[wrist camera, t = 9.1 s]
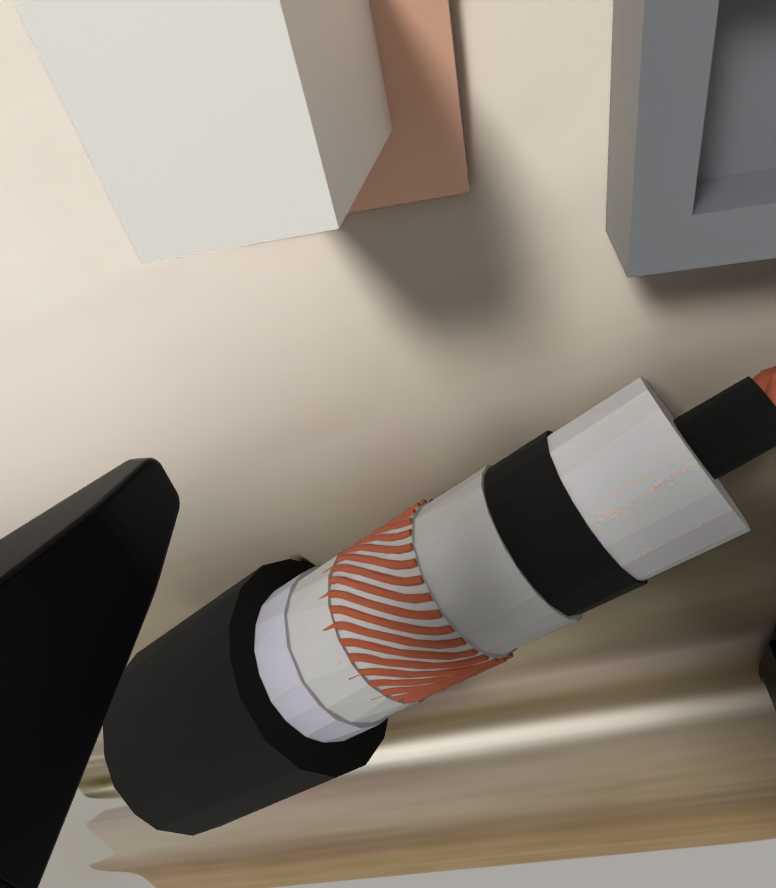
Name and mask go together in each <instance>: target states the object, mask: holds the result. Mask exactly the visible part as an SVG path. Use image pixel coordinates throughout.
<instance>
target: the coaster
mask: <svg viewBox="0 0 776 888" xmlns="http://www.w3.org/2000/svg"><path fill="white" fill-rule="evenodd" d="M369 3H370V8H371V14H372V19H373V25H374V30H375V36H376V41H377V47H378V52H379V58H380V63H381V69H382V74H383V79H384V85H385V90H386V96H387V101H388V107H389V112H390V118H391V123H392V131H391V133H390V135H389V137H388V139H387V141H386V142H385V144H384V146H383V148H382V150H381V152H380V154H379V155H378V157H377V159H376V161H375V163H374V165H373V167H372V168H371V170H370V172H369V174H368V176H367V178H366V180H365V181H364V183H363V185H362V187H361V189H360V191H359V193H358V194H357V196H356V198H355V200H354V202H353V204H352V206H351V207H350V209H349V211H348V213H353V212H359V211H364V210H370V209H376V208H382V207H387V206H393V205H399V204H405V203H410V202H416V201H422V200H428V199H434V198H439V197H445V196H451V195H457V194H462V193H468V192H469V180H468V170H467V161H466V152H465V143H464V133H463V124H462V115H461V106H460V96H459V87H458V78H457V69H456V59H455V50H454V41H453V32H452V22H451V13H450V4H449V0H369Z"/></svg>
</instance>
